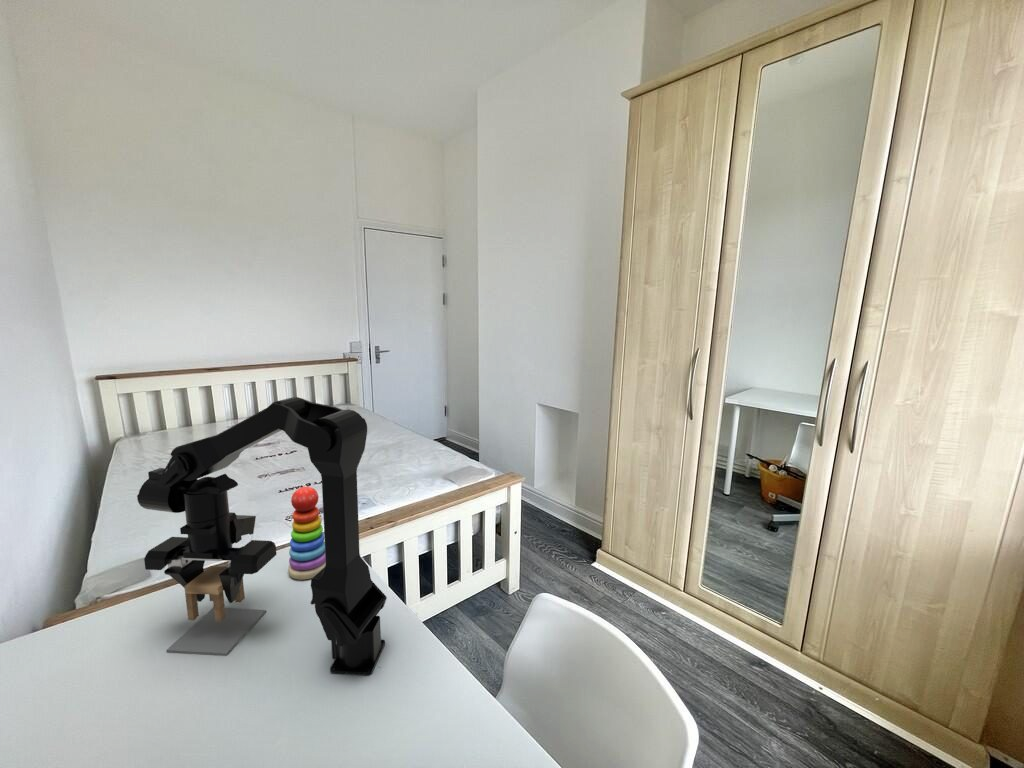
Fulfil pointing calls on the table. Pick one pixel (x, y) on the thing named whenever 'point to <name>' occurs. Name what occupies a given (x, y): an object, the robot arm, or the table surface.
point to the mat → (217, 632)
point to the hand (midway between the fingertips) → (217, 600)
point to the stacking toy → (306, 536)
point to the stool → (209, 592)
